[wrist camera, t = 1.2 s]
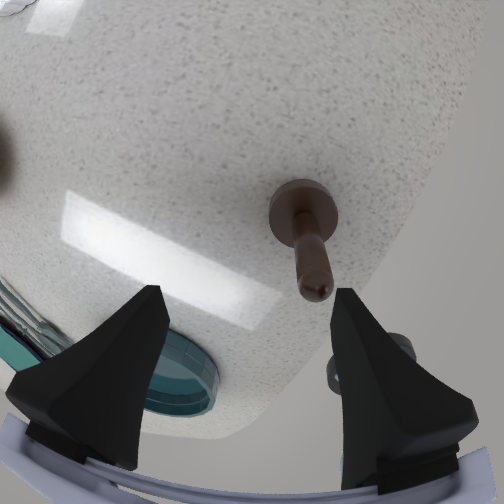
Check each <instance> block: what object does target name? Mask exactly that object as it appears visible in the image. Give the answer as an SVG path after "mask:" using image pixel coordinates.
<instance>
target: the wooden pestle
mask: <svg viewBox="0 0 504 504" xmlns="http://www.w3.org/2000/svg"><path fill="white" fill-rule="evenodd" d="M337 223H338V211H337V207H336V205H335V202H334V200H333V198H332V196H331V195H330V193H329V192H328V190H327V189H326V188H325V187H323V186H322V185H321V184H319V183H317V182H314V181H311V180H305V179H299V180H294V181H291V182H288V183H286V184H284V185H283V186H282V187H280V188H279V189H278V190H277V191H276V193H275V194H274V195H273V197H272V200H271V202H270V209H269V224H270V227H271V230H272V232H273V234H274V235H275V237H276V238H277V239H278V240H279V241H280V242H282V243H283V244H285V245H287V246H289V247H292V248H294V250H295V260H296V271H297V283H298V289H299V292H300V294H301V295H302V297H303V298H305V299H306V300H307V301H310V302H322V301H324V300H326V299H327V298H328V297H329V296H330V295H331V293H332V291H333V288H334V279H333V275H332V271H331V267H330V263H329V260H328V256H327V252H326V249H325V245H324V242H326V241H327V240H328V239H329V238H330V237H331V236H332V234H333V233H334V231H335V229H336V226H337Z"/></svg>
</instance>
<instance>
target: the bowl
mask: <svg viewBox="0 0 504 504" xmlns="http://www.w3.org/2000/svg"><path fill="white" fill-rule="evenodd" d="M218 384H219V376H218V372H217V368H216V366H215V365H214V364H213V363H212V361H211V360H210V358H209V357H208V356H207V355H206V354H205V353H204V352H203V351H202V350H201V349H200V348H199V347H198V346H197V345H195V344H194V343H192V342H191V341H190V340H188V339H186V338H185V337H183V336H181V335H179V334H177V333H175V332H173V331H171V330H168V333H167V337H166V341H165V344H164V346H163V349H162V352H161V355H160V357H159V360H158V363H157V365H156V368H155V371H154V373H153V376H152V379H151V382H150V385H149V388H148V392H147V396H146V401H145V405H144V410H146V411H149V412H152V413H156V414H160V415H165V416H171V417H195V416H200V415H203V414H205V413H207V412H208V411H210V410H212V408H213V406H214V403H215V401H216V395H217V390H218Z"/></svg>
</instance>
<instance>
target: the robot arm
mask: <svg viewBox="0 0 504 504" xmlns="http://www.w3.org/2000/svg"><path fill="white" fill-rule="evenodd" d="M169 324H170V318H169V315H168V312H167V308H166V305H165V302H164V299H163V295H162V292H161V289H160V286H158V285H146V286H145V287H144V288H143V289H141V290H140V291H139V292H138V293H137V294H136V295H135V296H133V297H132V298H131V299H130V300H129V301H128V302H127V303H126V304H125V305H123V306H122V307H121V308H120V309H119V310H118V311H117V312H116V313H114V314H113V315H112V316H111V317H110V318H109V319H107V320H106V321H105V322H104V323H103V324H101V325H100V326H99V327H98V328H97V329H95V330H94V331H93V332H91V333H90V334H89V335H87V336H86V337H84V338H83V339H82V340H80V341H79V342H77V343H76V344H74V345H72V346H71V347H69V348H67V349H66V350H64V351H62V352H61V353H59V354H57V355H55V356H53V357H51V358H49V359H47V360H45V361H43V362H41V363H39V364H36V365H34V366H31V367H29V368H26V369H23V370H21V371H17V373H16V374H15V376H14V378H13V380H12V382H11V383H10V385H9V387H8V389H7V391H6V393H5V394H6V396H7V398H8V399H9V401H10V402H11V403H12V404H13V405H14V406H15V407H16V408H18V409H19V410H20V411H21V412H22V413H23V414H24V415H25V416H26V417H28V418H29V419H30V420H31V421H30V423H29V425H28V424H27V423H25V422H23V421H22V420H21V419H19V418H17V417H16V416H14V415H12V414H11V413H8V414H7V416H6V418H5V420H4V422H3V425H2V427H1V429H0V462H2V463H3V464H4V465H5V466H6V467H8V468H9V469H10V470H11V471H12V472H14V473H15V474H16V475H17V476H19V477H20V478H21V479H22V480H23V481H25V482H26V483H27V484H28V485H30V486H31V487H32V488H33V489H35V490H36V491H37V492H39V493H40V494H41V495H43V496H44V497H46V498H47V499H48V500H50V501H51V502H53V503H54V504H158V503H156V502H152V501H149V500H147V499H144V498H142V497H140V496H138V495H135V494H132V493H129V492H127V491H124V490H121V489H119V488H118V486H117V485H116V484H118V485H121V486H124V487H127V488H130V489H133V490H136V491H139V492H143V493H146V494H150V495H153V496H158V497H161V498H165V499H170V500H174V501H179V502H183V503H189V504H488V503H490V502H492V501H493V500H495V499H496V498H497V495H496V488H495V482H494V477H493V472H492V467H491V463H490V458H489V454H488V450H487V447H483V448H480V449H478V450H476V451H474V452H471V453H469V454H466V455H464V456H462V457H460V458H458V459H457V456H456V453H457V452H459V445H458V442H459V441H461V440H462V439H463V438H464V437H466V436H467V435H468V434H469V433H471V432H472V431H473V430H474V429H475V428H476V427H477V425H478V423H479V420H478V417H477V413H476V410H475V407H474V405H473V402H472V400H471V399H469V398H467V397H465V396H464V395H462V394H460V393H458V392H456V391H455V390H453V389H451V388H450V387H448V386H447V385H445V384H444V383H442V382H441V381H439V380H438V379H436V378H435V377H434V376H433V375H431V374H430V373H429V372H427V371H426V370H425V369H424V368H422V367H421V366H420V365H419V364H418V363H416V362H415V361H414V360H413V359H412V358H411V357H410V356H409V355H408V354H407V353H406V352H404V351H403V350H402V349H401V348H400V347H399V346H398V345H397V343H396V342H395V341H394V340H393V339H392V338H391V337H390V336H389V335H388V334H387V332H386V331H385V330H384V329H383V328H382V326H381V325H380V324H379V323H378V321H377V320H376V319H375V318H374V317H373V315H372V314H371V313H370V312H369V310H368V309H367V307H366V306H365V305H364V303H363V302H362V301H361V300H360V298H359V297H358V295H357V294H356V293H355V291H354V290H353V289H352V288H337V291H336V296H335V302H334V307H333V312H332V317H331V322H330V329H331V341H332V349H333V353H334V359H335V364H336V369H337V374H335V379H336V380H338V381H339V384H340V390H341V397H342V409H343V434H344V437H343V438H344V439H343V440H344V441H343V455H342V457H341V462H340V471H341V478H342V484H341V491H333V492H324V493H309V494H252V493H238V492H227V491H218V490H210V489H204V488H197V487H191V486H186V485H181V484H176V483H171V482H167V481H162V480H158V479H154V478H150V477H147V476H143V475H139V474H136V473H133V472H129V471H133V470H135V469H136V468H137V464H138V446H139V437H140V429H141V422H142V416H143V410H144V405H145V401H146V396H147V392H148V388H149V385H150V382H151V379H152V376H153V373H154V371H155V368H156V365H157V363H158V360H159V357H160V355H161V352H162V349H163V346H164V344H165V341H166V337H167V333H168V328H169ZM108 464H109V465H108ZM111 465H112V466H111ZM114 466H115V467H114ZM117 467H118V468H117ZM120 468H122V469H120ZM123 469H125V470H123ZM126 470H128V471H126Z"/></svg>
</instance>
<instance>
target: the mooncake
mask: <svg viewBox="0 0 504 504" xmlns="http://www.w3.org/2000/svg"><path fill="white" fill-rule="evenodd" d="M34 1H35V0H0V16H10V15H11V14H13V13H18V12H20V11H22V10H23V9H24V8H25V6H26V5H29V4H31V3H33V2H34Z"/></svg>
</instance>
